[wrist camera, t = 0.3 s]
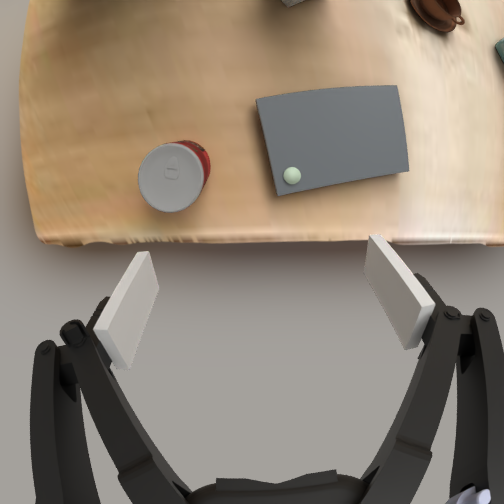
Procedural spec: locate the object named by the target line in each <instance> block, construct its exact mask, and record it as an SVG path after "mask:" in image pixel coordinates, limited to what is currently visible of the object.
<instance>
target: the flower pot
mask: <svg viewBox="0 0 504 504" xmlns="http://www.w3.org/2000/svg"><path fill="white" fill-rule="evenodd" d="M495 47H496V49H497V51H498V53H499V55H500V57H501V59H502V61H503V63H504V38H503V39H502V40H500V41H499V42H498V43H497V44H496V45H495Z"/></svg>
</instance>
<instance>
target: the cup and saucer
mask: <svg viewBox="0 0 504 504" xmlns="http://www.w3.org/2000/svg"><path fill="white" fill-rule="evenodd" d="M410 2H411V4H412V6H413V8H414V9H415V11H416V12H417V13H418V15H419V16H420V17H421V18H422V19H423V20H424V21H425V22H426V23H428V24H429V25H430V26H432V27H433V28H435V29H437V30H439V31H442V32H451V31H453V30H454V29H455V27H456V24H459V25H463V24H464V23H465V21H464V19H463V18H462V17H461V16H460V15H461V7H460V4H459V2H458V0H410ZM456 17H459V18H460V19H461V22H457V20H456Z"/></svg>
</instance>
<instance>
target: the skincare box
mask: <svg viewBox="0 0 504 504" xmlns="http://www.w3.org/2000/svg"><path fill="white" fill-rule="evenodd" d="M281 1H282V2H283V3H284V4H285V5H286V6H287V7H290V6H293V5H295V4H298V3H300V2H302V1H305V0H281Z"/></svg>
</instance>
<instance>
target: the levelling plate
mask: <svg viewBox="0 0 504 504" xmlns="http://www.w3.org/2000/svg"><path fill="white" fill-rule="evenodd" d="M255 101H256V105H257V109H258V114H259V118H260V122H261V126H262V131H263V135H264V139H265V144H266V148H267V153H268V157H269V162H270V166H271V171H272V175H273V180H274V185H275V189H276V194H277V195H278V196H281V195H285V194H290V193H294V192H299V191H304V190H309V189H313V188H318V187H323V186H328V185H333V184H339V183H344V182H349V181H354V180H360V179H366V178H371V177H377V176H383V175H389V174H395V173H401V172H408V171H409V162H408V152H407V143H406V135H405V128H404V121H403V115H402V109H401V103H400V98H399V93H398V88H397V85H384V86H355V87H340V88H329V89H319V90H310V91H302V92H295V93H288V94H282V95H276V96H270V97H264V98H259V99H256V100H255Z"/></svg>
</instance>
